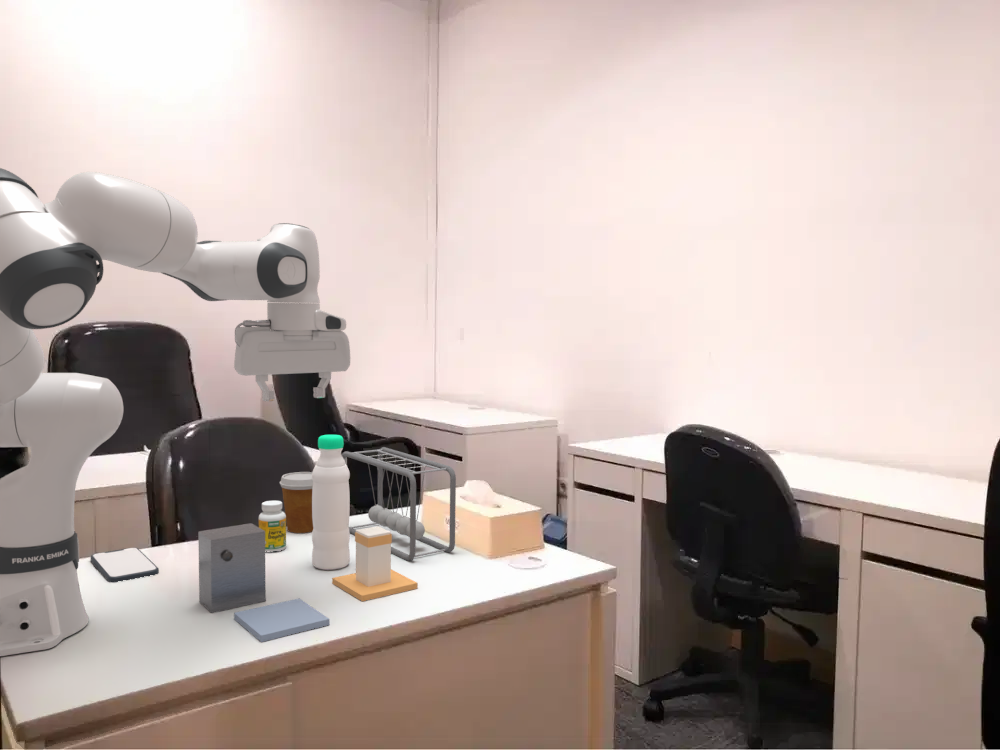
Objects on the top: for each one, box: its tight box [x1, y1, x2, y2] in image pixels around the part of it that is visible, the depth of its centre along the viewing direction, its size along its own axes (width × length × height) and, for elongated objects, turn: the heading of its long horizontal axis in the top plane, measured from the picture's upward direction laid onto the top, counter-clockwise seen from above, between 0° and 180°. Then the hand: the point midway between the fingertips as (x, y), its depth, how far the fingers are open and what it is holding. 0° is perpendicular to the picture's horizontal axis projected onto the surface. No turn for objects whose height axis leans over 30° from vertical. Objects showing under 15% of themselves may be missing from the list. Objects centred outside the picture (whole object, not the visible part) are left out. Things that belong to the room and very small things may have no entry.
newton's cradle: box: [341, 446, 457, 562], centre depth 173 cm, size 30×10×18 cm, turn 38°
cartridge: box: [354, 525, 393, 587], centre depth 145 cm, size 5×5×9 cm
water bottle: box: [311, 434, 351, 571], centre depth 156 cm, size 7×7×25 cm
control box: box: [197, 523, 267, 614], centre depth 136 cm, size 9×7×12 cm
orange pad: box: [331, 568, 419, 602], centre depth 145 cm, size 11×11×1 cm
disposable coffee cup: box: [279, 471, 313, 534], centre depth 180 cm, size 10×10×12 cm
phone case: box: [90, 547, 160, 583], centre depth 154 cm, size 9×2×16 cm
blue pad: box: [233, 597, 330, 643], centre depth 128 cm, size 11×11×1 cm
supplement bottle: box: [258, 500, 287, 552], centre depth 166 cm, size 5×5×10 cm
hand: (294, 399), depth 143 cm, fingers open, 8 cm apart
